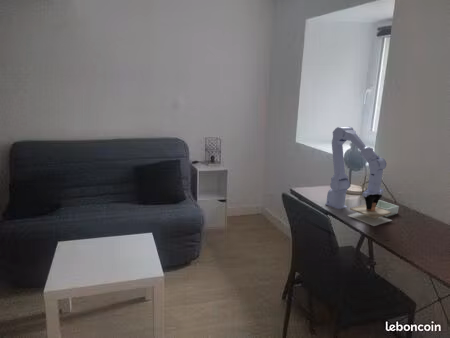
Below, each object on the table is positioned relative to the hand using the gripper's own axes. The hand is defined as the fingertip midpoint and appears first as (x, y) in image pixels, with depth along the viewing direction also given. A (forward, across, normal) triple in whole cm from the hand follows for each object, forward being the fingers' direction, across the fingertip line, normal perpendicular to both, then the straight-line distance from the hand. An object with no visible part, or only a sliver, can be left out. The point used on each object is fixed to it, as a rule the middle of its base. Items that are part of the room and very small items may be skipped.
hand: (370, 208), depth 174 cm
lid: (+2, 0, 0) cm, 2 cm away
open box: (+6, +14, +2) cm, 15 cm away
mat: (+5, 0, 0) cm, 5 cm away
